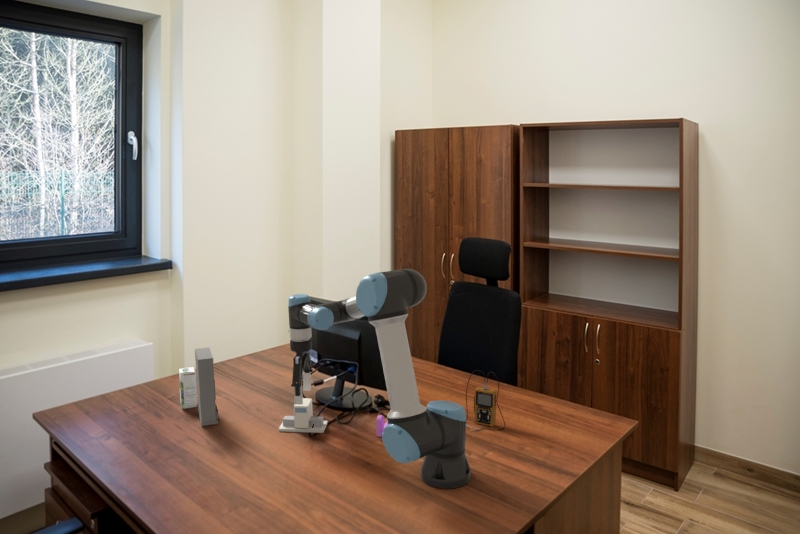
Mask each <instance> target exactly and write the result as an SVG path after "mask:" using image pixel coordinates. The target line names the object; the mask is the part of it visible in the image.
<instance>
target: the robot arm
mask: <svg viewBox="0 0 800 534" xmlns="http://www.w3.org/2000/svg"><path fill="white" fill-rule="evenodd" d="M427 290H428V286H427V282H426V279H425V278H424V276H423V275H422V274H421V273H420V272H419V271H417V270H415V269H411V268H400V269H395V270H388V271H387V270H386V271H380V272H374V273H371V274H368V275H365V276H363V278H362V279H360V280H359V283H358V285H357V286H356V292H355V295H354V296H351V297H348V298H345V299H342V300H337V301H332V302H325V303H320V304H313V303H311V302H312V301H311V297H310V295H308V294H305V293H301V294H299V293H296V294H291V295H290V296H289V297H288V306H287V308H288V309H287V310H288V324H289V328H288V330H287V332H288V333H289V339H290V340H289V349H290V351H291V352H294V353H295V356H294V357H293V359H292V360H293V362H292V363H293V366H292V367H293V368H292V381H291V383H292V384H291V386H290V387H292V388H293V393H294V395H293V399H294V401H293V402H294V405H295V404H303V398H304V397H303V396H304V395H303V391H307V392H308V391H310V392H311V391H312V377H311V373H313V371H314V369H313V367H312V361H311V355H310V351H311V350H312V349H313V341H312V337H313V336H312V335H313V334H312V333H313V332H312V329H315V330H320V331H321V330H323V331H325V330H328V329H329V328H330V327H332V326H333V325H336V324H340V323H346V322H351V321H352V322H353V321H357V320H360V319H361V318H363V317H367V320H368V323H369V324H370V325H372V326H373V327H374V328H375V334H376V338H377V344H378V349H379V353H380V359H381V365H382V369H383V375H384V380H385V387H386V390H387V396H388V401H389V407H390V410H389V412H388V413H387V416H386V418H387V420H386V421H388V425H387V426H386V427H385V428H384V429H383V432H382V437H381V439H382V443H383V446H384V448H385V450H386V451H387V454H388V455H389V456H390V457H391V458H392V459H393V460H395V461H396V462H397V463H400V464H408V463H411V462H412V463H413V462H416V461H418V460H419V459H422V458H423V461H422V463H421V467H420V479H421V480H422V481H423V482H424V483H425V484H426V485H429V486H431V487H433V488H436V489H437V488H438V489H444V490H445V489H446V490H447V489H456V488H460V487H463V486H465V485H467V484H468V483H469V482H470V480H471V467H470V464H469V461H468V460H469V459H468V457H467V454H466V439H467V438H466V435H467V434H466V433H467V426H466V424H467V421H466V420H467V411H466V409H465V407H464V406H463V405H461V404H459V403H457V402H453V401H450V400H444V399H443V400H442V399H437V400H431V401H429V402H428V403H427V404H426V406H424V405H423V404H422V403H421V400H420V395H419V389H418V386H417V385H418V384H417V378H416V374H415V370H414V365H413V364H414V363H413V359H412V355H411V349H410V344H409V339H408V335H407V333H408V332H407V329H406V323H405V322H406V319H407V318H408V316H409V308H412V307H415V306H417V305H419V304H421V302H422V301H423V300H424V299H425V297H426V295H427Z"/></svg>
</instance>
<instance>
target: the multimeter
mask: <svg viewBox="0 0 800 534" xmlns="http://www.w3.org/2000/svg"><path fill="white" fill-rule="evenodd" d="M477 371H479V372H480V373H482V374H483V376H484V380H483V381H484V382H483V387H480V386H478V387H476V388H475V390H474V398H473V414H474V423H475V425H478V424H479V425H483V426H488V427H487V429H488V430H489V431H490V430H491V431H494V429H492V428H493V427H494V426H495V425H496V422H497V421H496V419H497V418H496V417H497V408H498V410H499V412H500V415H501V417H502V420H503V424H504V426H503V428H500V429H498V431H501V430H503V429H505V428H506V423H505V419H504V415H503V413H502V411H501V409H500V406H499V404H498V402H497V399H498V398H499V393H500V392H499V391H500V382H499V378H498V376H497V375H496V373H494V372H493V371H489V372H488V373H487V376H486V375H485V373H484V371H482V370H481V369H480V370H479V369H476V370H475V369H474V371H472V372H471V373H470V375H469V377H468V380H467V381H468V382H467V384H466V390H465V403H466V407H468V401H467V400H468V398H467V397H468V396H467V395H468V386H469V383H470V380H471V377H472V375H473V374H474V373H475V372H477ZM491 373H492V374H493V375H494V377H495V378H496V380H497V384H498V387H497V389H498V390H495V389H489V382H488V381H489V380H488V379H489V374H491ZM468 417H469V415H468V410H466V422H468ZM489 427H492V428H489ZM466 428H470V429H469V431H470V432H471V431H472V432H473V431H478V430H479V431H480V430H482V429H485V427H480V428H479V427H478V428H474V429H473V428H472V427H471V426H470V425H468V424H467V423H466Z"/></svg>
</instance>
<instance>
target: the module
mask: <svg viewBox="0 0 800 534" xmlns="http://www.w3.org/2000/svg"><path fill="white" fill-rule="evenodd" d="M313 414H314V413H313V398H306V397H303V404H295V403H294V404H293V416H294V427H295V428H309V420H310V418H311V417H314V415H313Z"/></svg>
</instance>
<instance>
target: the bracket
mask: <svg viewBox="0 0 800 534" xmlns="http://www.w3.org/2000/svg"><path fill="white" fill-rule="evenodd" d="M375 424H376V425H375V427H376V429H375V431H376V433H375V435H376V437H380V438H382V432H383V429H384V428H385V427H386V426H387V425H388V420H386V421H385V417H384V415H382V414H381V415H380V414H378V415H377V417H376V423H375Z"/></svg>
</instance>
